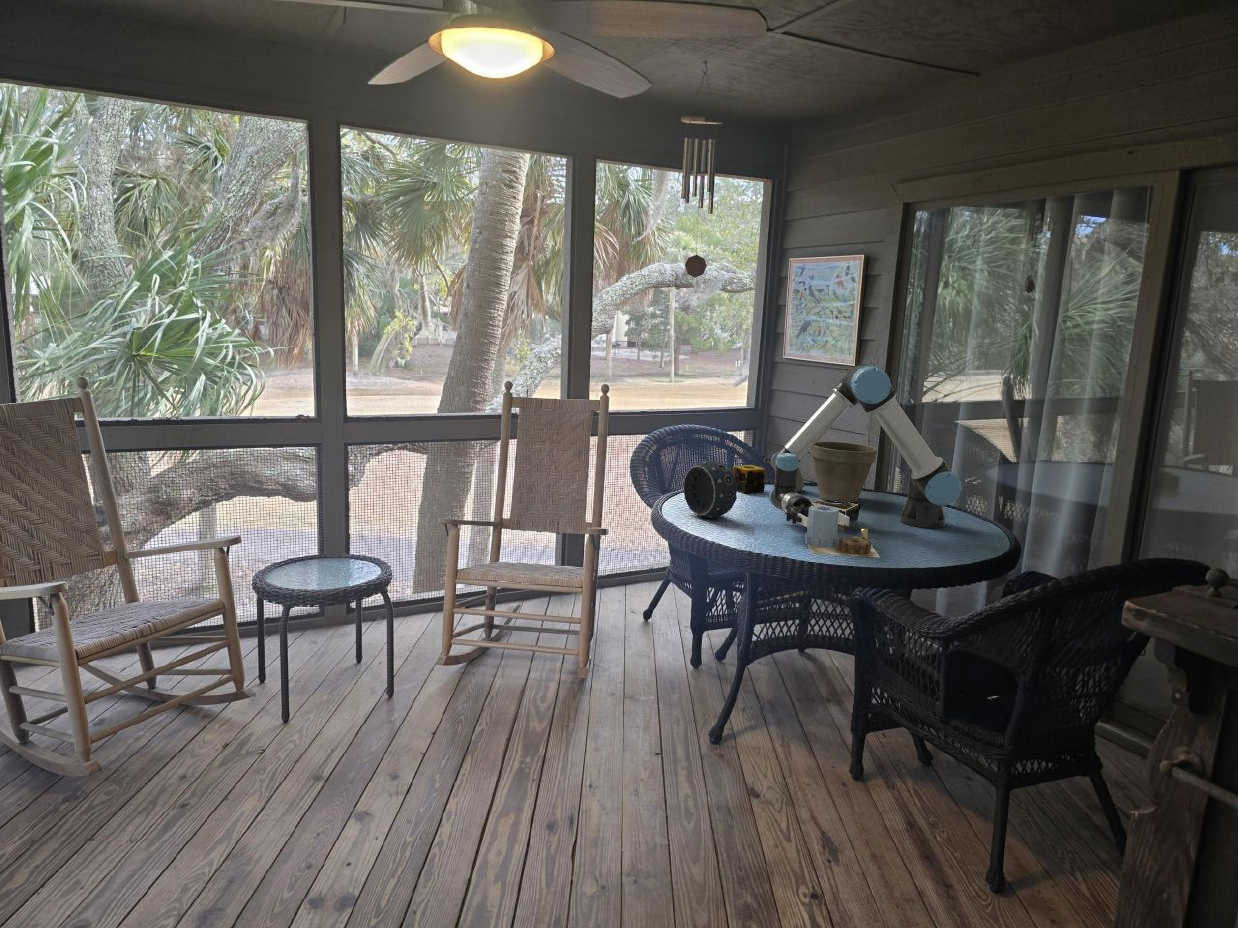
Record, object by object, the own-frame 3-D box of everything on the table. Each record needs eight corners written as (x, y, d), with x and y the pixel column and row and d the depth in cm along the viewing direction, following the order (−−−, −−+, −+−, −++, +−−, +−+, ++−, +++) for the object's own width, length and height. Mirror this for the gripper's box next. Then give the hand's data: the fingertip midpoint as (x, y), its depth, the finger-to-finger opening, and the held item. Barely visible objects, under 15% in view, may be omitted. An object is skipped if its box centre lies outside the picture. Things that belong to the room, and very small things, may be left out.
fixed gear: (867, 547, 247) (868, 534, 246) (873, 555, 238) (874, 542, 237) (836, 545, 248) (837, 532, 247) (841, 553, 239) (842, 540, 238)
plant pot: (869, 495, 329) (874, 443, 325) (874, 508, 306) (879, 452, 302) (807, 490, 335) (811, 439, 331) (807, 503, 311) (811, 448, 307)
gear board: (868, 546, 254) (868, 541, 254) (879, 562, 237) (880, 557, 237) (804, 542, 256) (804, 537, 256) (810, 557, 239) (811, 553, 239)
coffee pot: (789, 486, 341) (791, 452, 338) (809, 492, 332) (812, 456, 329) (753, 491, 329) (755, 455, 326) (773, 497, 320) (776, 460, 317)
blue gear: (828, 537, 257) (831, 504, 255) (844, 547, 247) (847, 512, 245) (798, 538, 254) (800, 505, 252) (813, 548, 244) (816, 513, 242)
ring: (714, 525, 273) (718, 467, 270) (679, 512, 290) (681, 457, 286) (738, 521, 279) (742, 465, 276) (702, 509, 296) (705, 455, 292)
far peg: (865, 544, 251) (867, 528, 250) (867, 545, 249) (868, 530, 248) (859, 543, 251) (860, 528, 250) (860, 545, 249) (862, 529, 248)
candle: (744, 494, 323) (746, 470, 321) (730, 489, 332) (731, 465, 330) (765, 492, 328) (766, 468, 326) (750, 487, 336) (751, 464, 335)
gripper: (830, 516, 270) (863, 532, 249) (761, 517, 264) (789, 535, 244) (832, 494, 268) (865, 509, 248) (763, 495, 262) (791, 511, 242)
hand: (828, 522), depth 246 cm, fingers open, 13 cm apart
